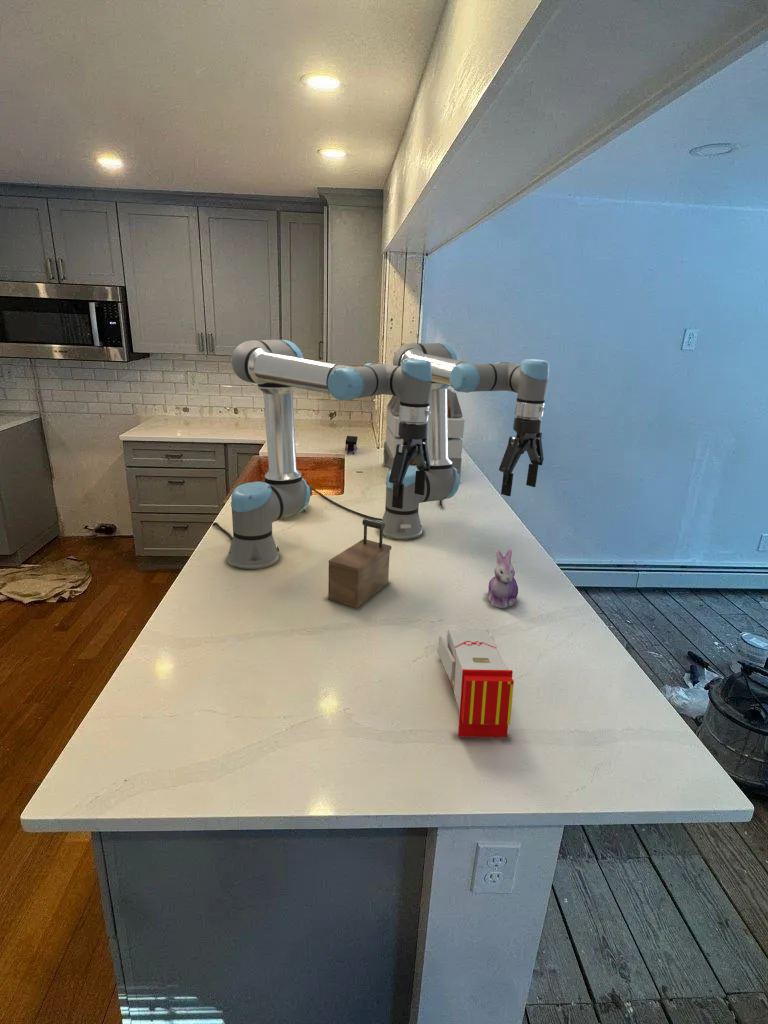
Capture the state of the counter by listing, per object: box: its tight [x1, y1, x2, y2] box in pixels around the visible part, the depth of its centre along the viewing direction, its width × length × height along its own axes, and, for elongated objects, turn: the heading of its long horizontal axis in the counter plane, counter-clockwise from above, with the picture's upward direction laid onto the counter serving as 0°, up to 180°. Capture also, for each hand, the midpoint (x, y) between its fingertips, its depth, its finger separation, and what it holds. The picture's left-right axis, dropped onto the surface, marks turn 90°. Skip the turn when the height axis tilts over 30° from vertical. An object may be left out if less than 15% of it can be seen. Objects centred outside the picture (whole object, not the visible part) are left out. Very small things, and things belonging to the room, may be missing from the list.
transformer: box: [383, 388, 465, 483], centre depth 268 cm, size 34×33×41 cm
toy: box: [437, 628, 515, 738], centre depth 117 cm, size 12×13×30 cm
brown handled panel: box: [328, 517, 392, 573], centre depth 154 cm, size 18×9×9 cm, turn 151°
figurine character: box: [344, 435, 359, 455], centre depth 308 cm, size 7×8×15 cm
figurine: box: [487, 548, 519, 609], centre depth 154 cm, size 9×10×15 cm
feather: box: [438, 500, 444, 509], centre depth 239 cm, size 2×28×2 cm
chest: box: [327, 550, 391, 609], centre depth 157 cm, size 17×9×10 cm, turn 151°
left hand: (408, 500), depth 152 cm, fingers open, 13 cm apart
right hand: (518, 490), depth 164 cm, fingers open, 13 cm apart
